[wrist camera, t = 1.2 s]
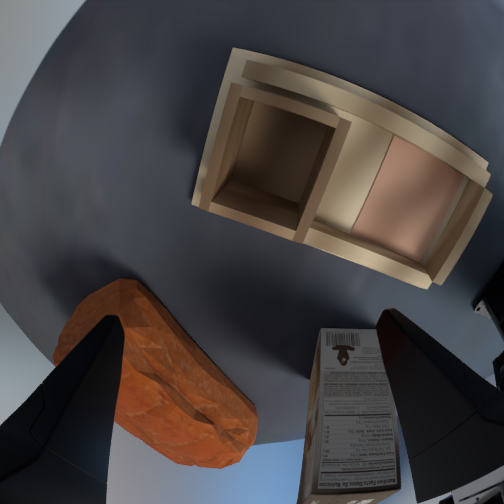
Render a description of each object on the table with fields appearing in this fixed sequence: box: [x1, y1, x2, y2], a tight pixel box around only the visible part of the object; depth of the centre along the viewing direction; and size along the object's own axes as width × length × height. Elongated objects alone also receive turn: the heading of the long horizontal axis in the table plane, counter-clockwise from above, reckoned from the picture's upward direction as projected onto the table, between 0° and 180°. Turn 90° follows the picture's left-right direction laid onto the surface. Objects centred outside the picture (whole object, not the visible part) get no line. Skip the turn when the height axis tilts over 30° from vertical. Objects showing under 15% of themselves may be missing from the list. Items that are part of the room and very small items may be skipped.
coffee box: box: [297, 328, 401, 504], centre depth 21 cm, size 9×6×16 cm
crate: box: [199, 82, 352, 244], centre depth 16 cm, size 6×7×5 cm
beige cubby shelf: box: [192, 48, 493, 290], centre depth 17 cm, size 20×12×3 cm, turn 74°
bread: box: [53, 278, 258, 469], centre depth 29 cm, size 16×27×11 cm, turn 30°
